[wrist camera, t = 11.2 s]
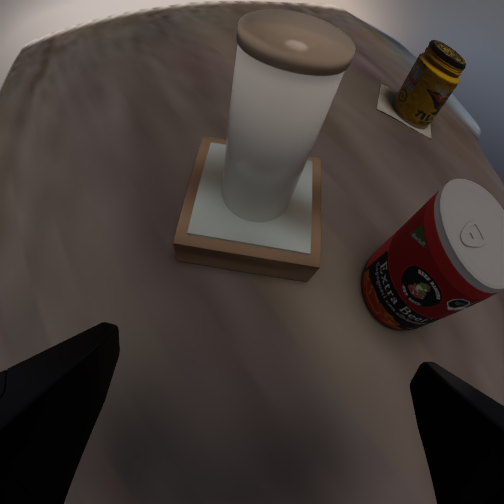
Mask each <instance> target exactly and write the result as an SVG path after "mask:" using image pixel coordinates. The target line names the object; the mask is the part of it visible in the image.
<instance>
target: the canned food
mask: <svg viewBox="0 0 504 504" xmlns="http://www.w3.org/2000/svg"><path fill="white" fill-rule="evenodd" d="M362 288H363V294H364V298H365V301H366V304H367V305H368V307H369V309H370V311H371V312H372V313H373V315H374V316H375V317H376V318H377V319H378V320H379V321H380V322H382V323H383V324H385V325H387V326H389V327H392V328H395V329H401V330H411V329H416V328H418V327H421V326H424V325H426V324H429V323H431V322H434V321H436V320H439V319H441V318H444V317H446V316H449V315H451V314H453V313H456V312H458V311H460V310H463V309H465V308H467V307H470V306H472V305H474V304H476V303H478V302H481V301H483V300H485V299H487V298H489V297H490V296H492V295H494V294H496V293H498V292H500V291H502V290H503V289H504V210H503V208H502V207H501V206H500V204H499V203H498V202H497V201H496V199H495V198H494V197H493V196H492V195H491V194H490V193H489V192H488V191H486V190H485V189H484V188H483V187H481V186H480V185H478V184H476V183H474V182H472V181H470V180H466V179H454V180H452V181H449V182H448V183H447V184H446V185H444V186H443V187H442V188H441V189H440V190H439V191H438V192H437V193H436V194H435V195H434V196H433V197H432V198H431V199H430V200H429V201H428V202H427V203H426V204H425V205H424V206H423V207H422V208H421V209H420V210H419V211H418V212H417V213H416V214H415V215H414V216H413V217H412V218H410V219H409V220H408V221H407V222H406V223H405V224H404V225H403V226H402V227H401V228H400V229H399V230H398V231H397V232H396V233H395V234H394V235H393V236H392V237H391V238H390V239H389V240H387V241H386V242H385V243H384V244H383V245H382V246H381V247H380V248H379V249H378V250H377V251H376V252H375V253H373V255H372V256H371V258H370V259H369V261H368V263H367V266H366V268H365V270H364V274H363V280H362Z"/></svg>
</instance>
